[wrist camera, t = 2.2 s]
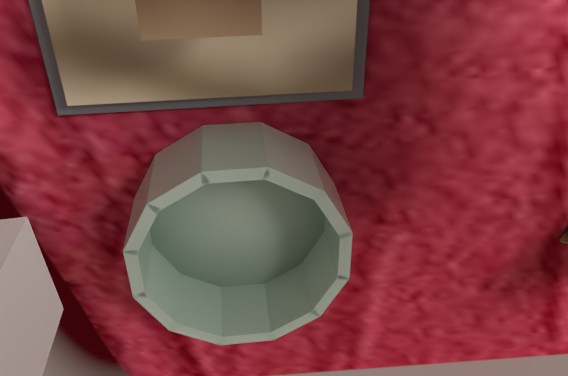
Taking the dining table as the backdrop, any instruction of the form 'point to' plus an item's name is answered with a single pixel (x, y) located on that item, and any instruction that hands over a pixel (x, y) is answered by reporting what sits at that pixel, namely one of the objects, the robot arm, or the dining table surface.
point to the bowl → (237, 235)
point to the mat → (63, 109)
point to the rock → (564, 237)
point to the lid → (200, 48)
